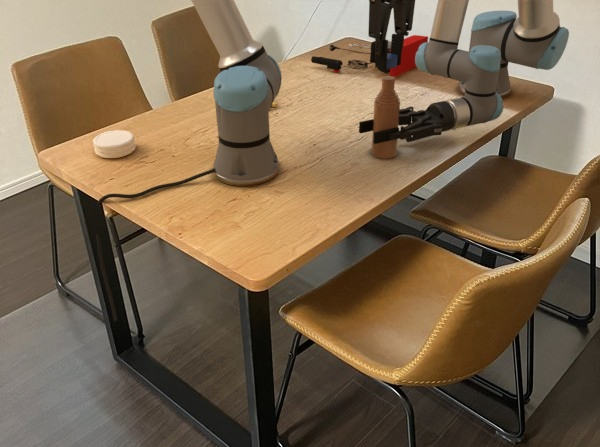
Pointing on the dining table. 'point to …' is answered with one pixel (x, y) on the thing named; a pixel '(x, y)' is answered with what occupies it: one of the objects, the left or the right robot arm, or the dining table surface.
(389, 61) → the cap
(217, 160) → the left robot arm
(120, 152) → the coaster
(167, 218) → the dining table surface
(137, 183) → the dining table surface
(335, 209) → the dining table surface
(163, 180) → the dining table surface
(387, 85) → the bottle
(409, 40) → the electric hoist
